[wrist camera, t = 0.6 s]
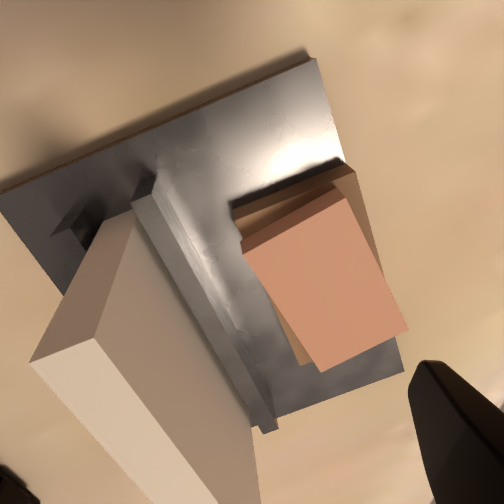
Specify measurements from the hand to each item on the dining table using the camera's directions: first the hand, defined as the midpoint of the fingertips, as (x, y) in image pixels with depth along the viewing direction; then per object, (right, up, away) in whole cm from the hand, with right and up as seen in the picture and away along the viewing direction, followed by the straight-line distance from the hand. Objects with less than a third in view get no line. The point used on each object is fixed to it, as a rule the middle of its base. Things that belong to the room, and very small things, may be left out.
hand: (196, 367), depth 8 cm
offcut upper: (+5, +1, +13) cm, 14 cm away
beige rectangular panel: (-3, -1, +15) cm, 16 cm away
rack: (0, 0, +16) cm, 16 cm away
